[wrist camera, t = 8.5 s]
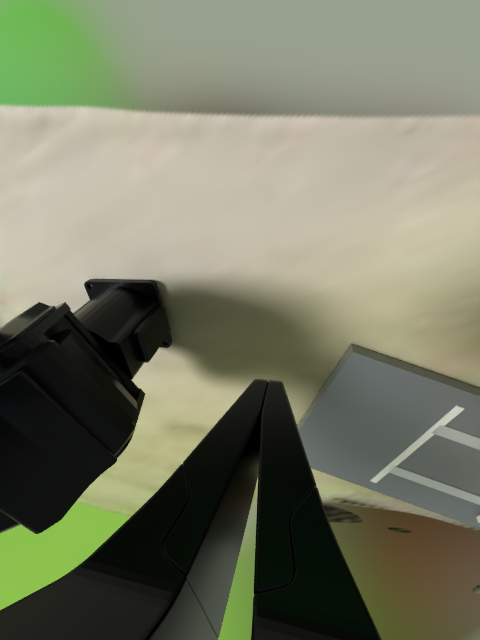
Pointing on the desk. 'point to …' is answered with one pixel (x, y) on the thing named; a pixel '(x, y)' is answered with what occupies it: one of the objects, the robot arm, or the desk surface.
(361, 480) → the grey marked board
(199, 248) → the desk surface
